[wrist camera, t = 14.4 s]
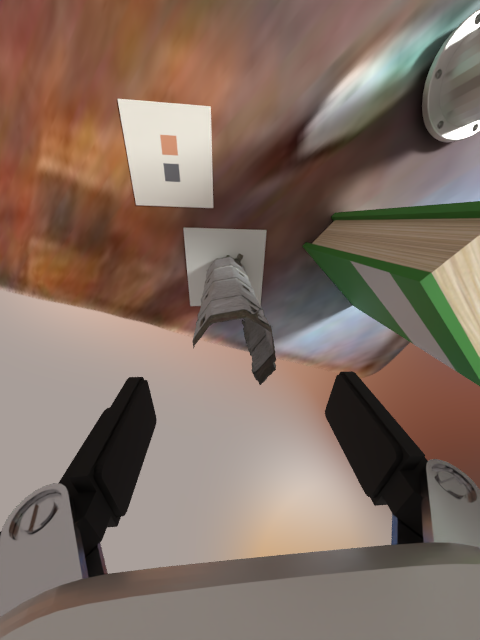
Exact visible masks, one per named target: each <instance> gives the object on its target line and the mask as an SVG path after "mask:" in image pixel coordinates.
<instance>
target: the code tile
mask: <svg viewBox="0 0 480 640" xmlns="http://www.w3.org/2000/svg"><path fill="white" fill-rule="evenodd" d="M118 105H119V111H120V116H121V122H122V128H123V133H124V139H125V145H126V150H127V156H128V162H129V167H130V173H131V179H132V185H133V190H134V196H135V202H136V205H143V206H169V207H195V208H213V177H212V139H211V106H199V105H187V104H175V103H163V102H151V101H139V100H127V99H118Z"/></svg>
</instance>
